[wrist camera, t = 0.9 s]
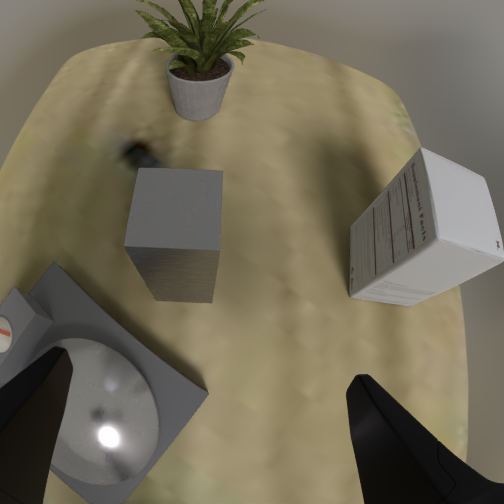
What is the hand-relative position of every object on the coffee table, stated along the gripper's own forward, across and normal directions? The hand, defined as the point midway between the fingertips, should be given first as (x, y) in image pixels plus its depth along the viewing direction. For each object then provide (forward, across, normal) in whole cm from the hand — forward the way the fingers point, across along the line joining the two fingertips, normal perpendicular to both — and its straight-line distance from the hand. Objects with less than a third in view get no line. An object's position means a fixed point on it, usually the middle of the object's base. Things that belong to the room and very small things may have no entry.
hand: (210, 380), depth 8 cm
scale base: (+7, +10, +14) cm, 18 cm away
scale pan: (+5, +9, +13) cm, 16 cm away
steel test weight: (+15, +2, +6) cm, 17 cm away
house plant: (+32, +4, -7) cm, 33 cm away
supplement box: (+18, -16, +5) cm, 24 cm away
